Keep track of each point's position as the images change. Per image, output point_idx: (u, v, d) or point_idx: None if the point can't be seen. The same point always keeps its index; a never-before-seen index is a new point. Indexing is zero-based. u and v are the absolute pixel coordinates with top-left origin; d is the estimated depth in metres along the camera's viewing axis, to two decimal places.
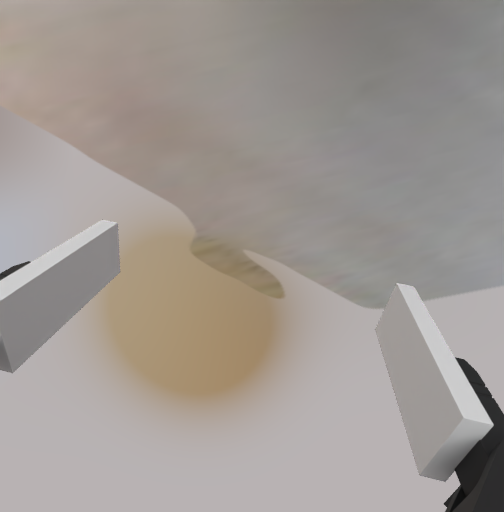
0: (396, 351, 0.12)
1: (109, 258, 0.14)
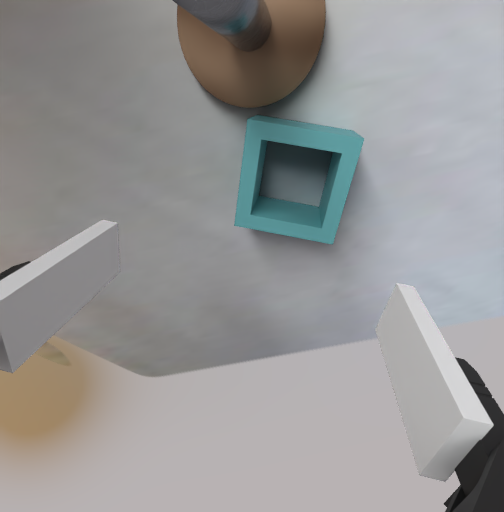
0: (396, 351, 0.12)
1: (109, 258, 0.14)
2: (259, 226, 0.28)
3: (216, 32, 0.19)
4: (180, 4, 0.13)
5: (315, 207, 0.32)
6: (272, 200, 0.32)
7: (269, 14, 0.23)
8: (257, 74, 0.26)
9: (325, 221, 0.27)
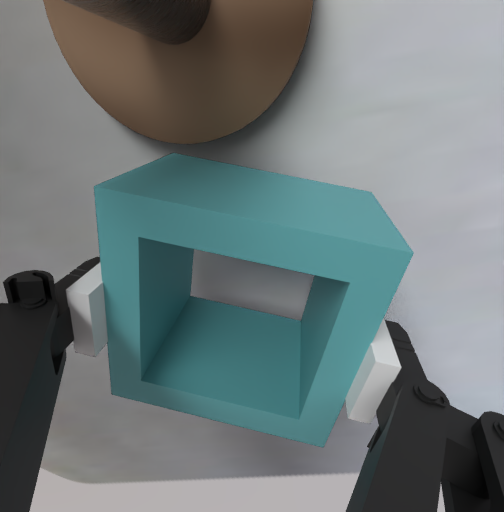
0: None
1: None
2: (164, 401, 0.13)
3: None
4: None
5: (294, 324, 0.17)
6: (212, 308, 0.17)
7: None
8: (192, 87, 0.14)
9: (307, 409, 0.12)
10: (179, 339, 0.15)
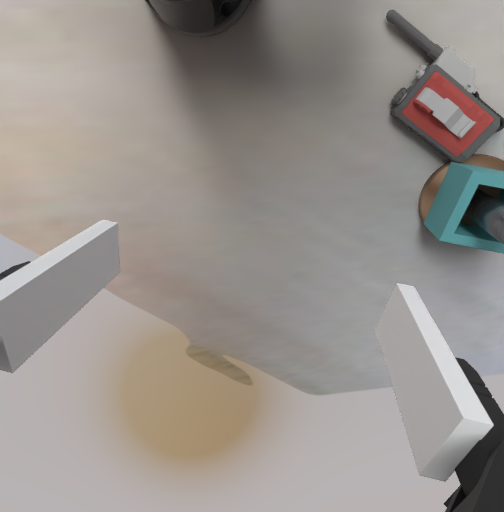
0: (396, 351, 0.12)
1: (109, 258, 0.14)
2: (458, 241, 0.39)
3: (485, 230, 0.37)
4: None
5: None
6: None
7: None
8: None
9: None
10: None
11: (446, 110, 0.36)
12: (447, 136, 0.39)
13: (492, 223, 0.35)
